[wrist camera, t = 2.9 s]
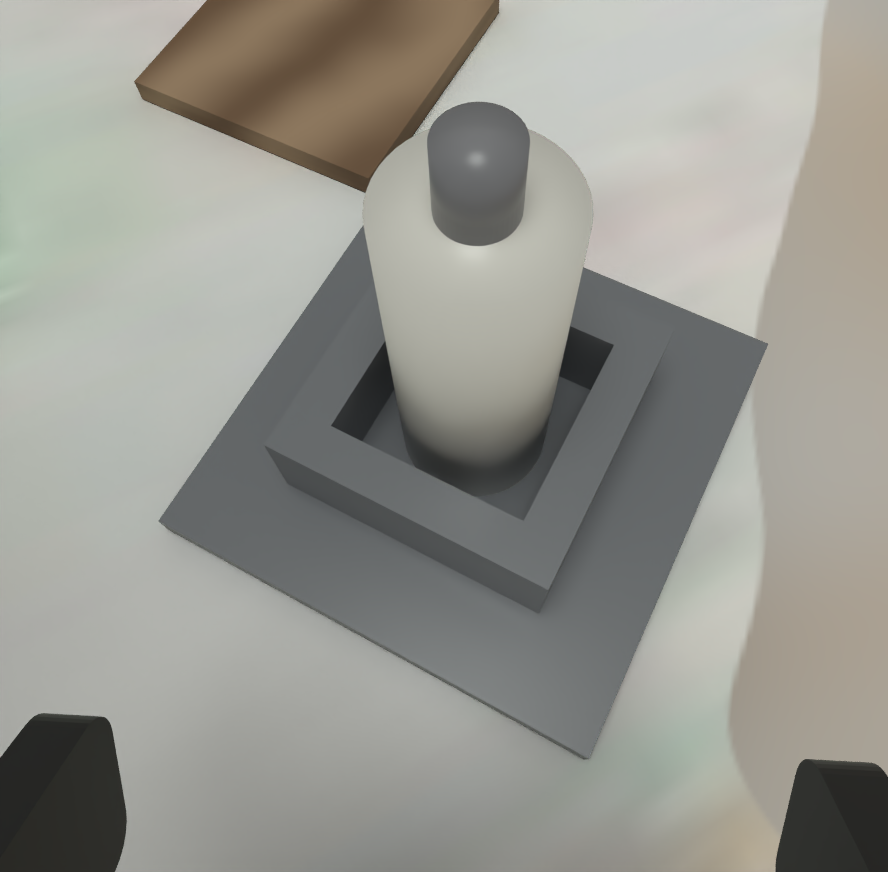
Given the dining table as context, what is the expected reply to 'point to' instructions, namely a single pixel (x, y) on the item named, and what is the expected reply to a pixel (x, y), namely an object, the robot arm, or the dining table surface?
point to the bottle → (476, 289)
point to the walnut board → (317, 74)
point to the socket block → (478, 498)
